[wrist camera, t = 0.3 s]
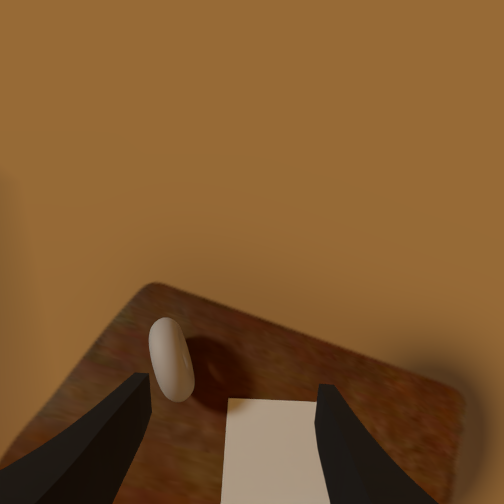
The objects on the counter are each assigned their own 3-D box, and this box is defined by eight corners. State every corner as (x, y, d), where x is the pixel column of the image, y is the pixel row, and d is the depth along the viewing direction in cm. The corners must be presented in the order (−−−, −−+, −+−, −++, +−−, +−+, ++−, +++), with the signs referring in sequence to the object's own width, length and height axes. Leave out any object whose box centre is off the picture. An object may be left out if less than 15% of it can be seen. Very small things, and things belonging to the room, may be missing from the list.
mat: (351, 625, 30) (353, 629, 29) (212, 621, 29) (212, 625, 29) (334, 403, 39) (335, 403, 38) (228, 398, 39) (228, 398, 38)
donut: (159, 332, 42) (138, 313, 33) (183, 324, 43) (169, 303, 34) (175, 406, 38) (157, 407, 29) (201, 396, 39) (191, 394, 30)
